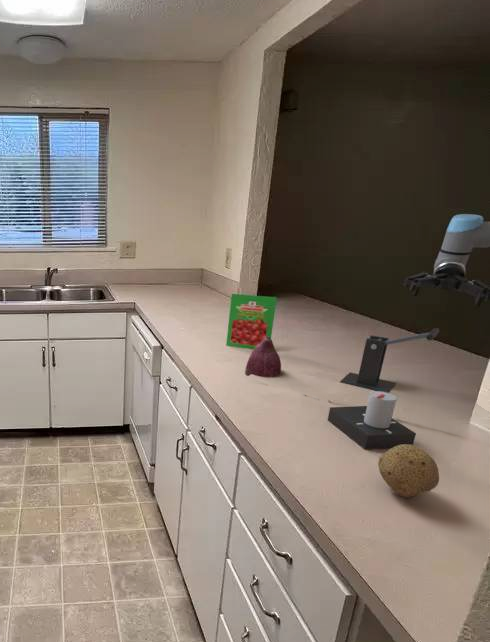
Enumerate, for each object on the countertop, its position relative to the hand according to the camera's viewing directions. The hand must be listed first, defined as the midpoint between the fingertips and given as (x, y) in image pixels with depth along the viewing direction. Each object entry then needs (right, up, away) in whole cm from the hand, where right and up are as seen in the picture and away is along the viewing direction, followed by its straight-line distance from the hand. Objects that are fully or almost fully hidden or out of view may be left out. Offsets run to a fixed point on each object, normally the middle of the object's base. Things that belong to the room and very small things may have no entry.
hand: (447, 296), depth 116 cm
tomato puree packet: (-37, -13, +46) cm, 60 cm away
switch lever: (-10, -13, +2) cm, 16 cm away
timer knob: (-31, -32, -17) cm, 48 cm away
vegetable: (-41, -22, +21) cm, 51 cm away
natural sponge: (-39, -43, -35) cm, 67 cm away
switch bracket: (-15, -25, +11) cm, 31 cm away
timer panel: (-31, -34, -14) cm, 48 cm away
